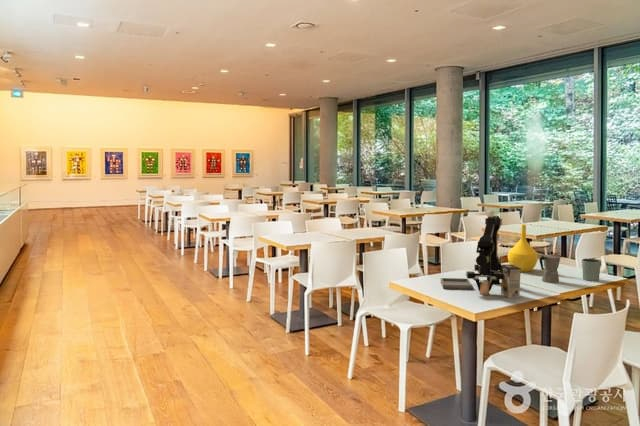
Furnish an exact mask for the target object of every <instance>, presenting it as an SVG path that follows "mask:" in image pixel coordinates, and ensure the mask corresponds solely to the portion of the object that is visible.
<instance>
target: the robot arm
mask: <svg viewBox="0 0 640 426" xmlns="http://www.w3.org/2000/svg"><path fill="white" fill-rule="evenodd" d="M484 224H485V228H484V231H483V235H482V236H480V238H479V241H477V247H476V252H475V253H477V254H478V256H477V257H476V258H475V263H476V264H474V266H473V267H474V271H466V273H465V276H466V279H468V280H469V279H470V280H473V281H475V283H476V286H477V290H478V292H479V291H480V278H486V280H487V281H489V292H491V290H492V287H493V285H494V284H495V285H496V284H497V285H498V284H501V280H502V279H504V275H503V274H502V265H503V264H502V263H501V259H500V257H499V255H498V251H499V250H498V248H499V247H498V246H499V245H498V244H499V243H498V242H499V241H498V240H499V239H498V236H499V235H498V234H499V231H500V228H501V227H502V224H503V219H502V218H500V216H488V217H485V222H484ZM476 271H477V272H476ZM475 272H476V273H475Z"/></svg>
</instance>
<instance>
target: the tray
mask: <svg viewBox="0 0 640 426" xmlns="http://www.w3.org/2000/svg"><path fill="white" fill-rule="evenodd" d="M440 285H441V287H442V289H443V290H466V291H467V290H468V291H469V290H473V285H472V282H471V281H470V280H469V279H468V278H459V277H458V278H457V277H456V278H455V277H454V278H453V277H449V278H448V277H441V278H440Z"/></svg>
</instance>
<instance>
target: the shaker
mask: <svg viewBox="0 0 640 426" xmlns="http://www.w3.org/2000/svg"><path fill="white" fill-rule="evenodd" d="M479 280H480V279H479ZM478 293H479V295H481V296H482V295H483V296H488V295H490V291H489V281H487V279H482V280H480V291H479V290H478Z"/></svg>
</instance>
